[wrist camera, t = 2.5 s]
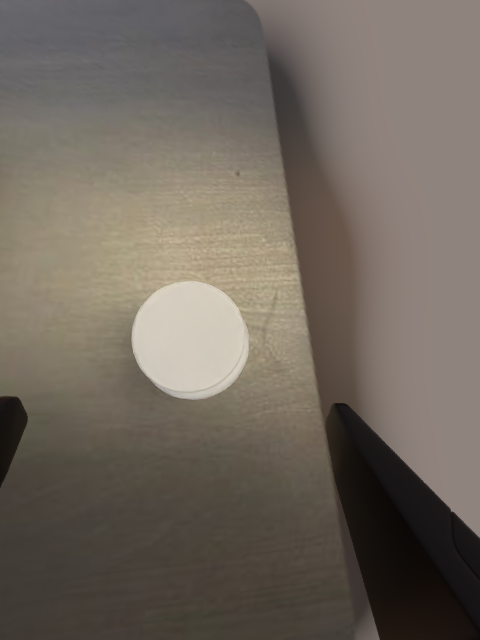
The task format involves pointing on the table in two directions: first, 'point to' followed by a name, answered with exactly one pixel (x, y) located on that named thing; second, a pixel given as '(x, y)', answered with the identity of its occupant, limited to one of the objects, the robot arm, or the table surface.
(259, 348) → the table surface
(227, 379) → the pill bottle
